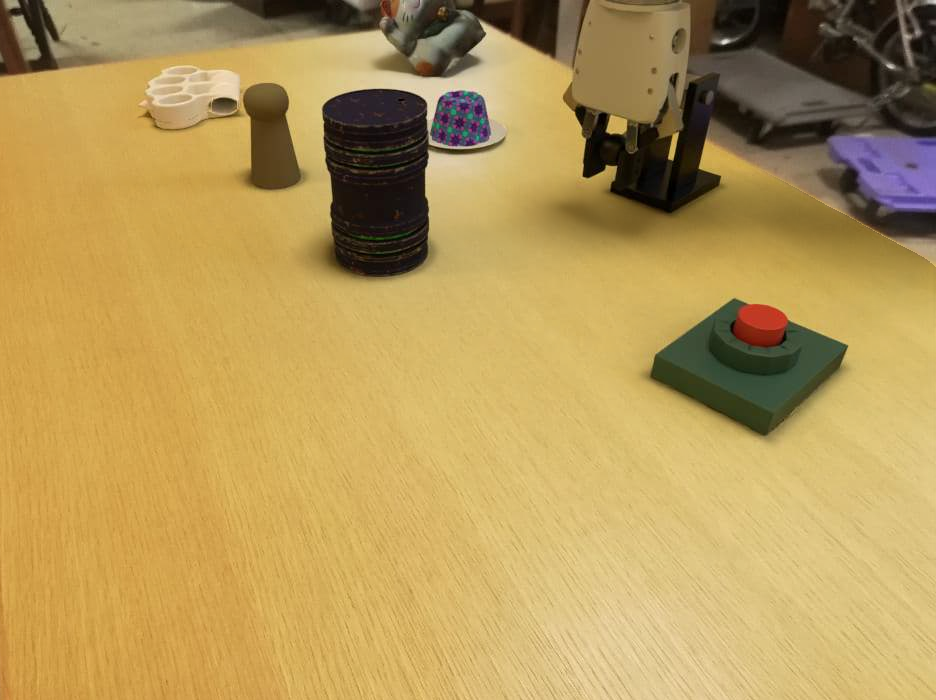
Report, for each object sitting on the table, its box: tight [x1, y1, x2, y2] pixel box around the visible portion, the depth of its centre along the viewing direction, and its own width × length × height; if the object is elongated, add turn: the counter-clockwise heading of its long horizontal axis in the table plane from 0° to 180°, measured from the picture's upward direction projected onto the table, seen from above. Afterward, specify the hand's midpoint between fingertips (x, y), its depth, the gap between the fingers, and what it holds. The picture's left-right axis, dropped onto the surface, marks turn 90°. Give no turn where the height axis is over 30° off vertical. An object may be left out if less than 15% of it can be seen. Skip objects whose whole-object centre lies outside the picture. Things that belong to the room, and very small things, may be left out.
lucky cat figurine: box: [379, 0, 487, 77], centre depth 125 cm, size 15×12×14 cm
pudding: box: [427, 89, 507, 150], centre depth 103 cm, size 12×12×5 cm
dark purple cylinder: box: [321, 88, 430, 277], centre depth 76 cm, size 10×10×15 cm
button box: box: [650, 297, 849, 436], centre depth 63 cm, size 12×10×4 cm
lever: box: [598, 72, 702, 167], centre depth 81 cm, size 15×3×3 cm, turn 132°
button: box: [733, 303, 789, 348], centre depth 61 cm, size 4×4×2 cm
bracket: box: [609, 71, 722, 214], centre depth 86 cm, size 10×8×13 cm
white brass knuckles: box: [137, 65, 242, 130], centre depth 115 cm, size 3×18×15 cm
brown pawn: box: [242, 82, 302, 190], centre depth 92 cm, size 6×6×11 cm
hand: (609, 178), depth 81 cm, fingers closed on lever, 3 cm apart
